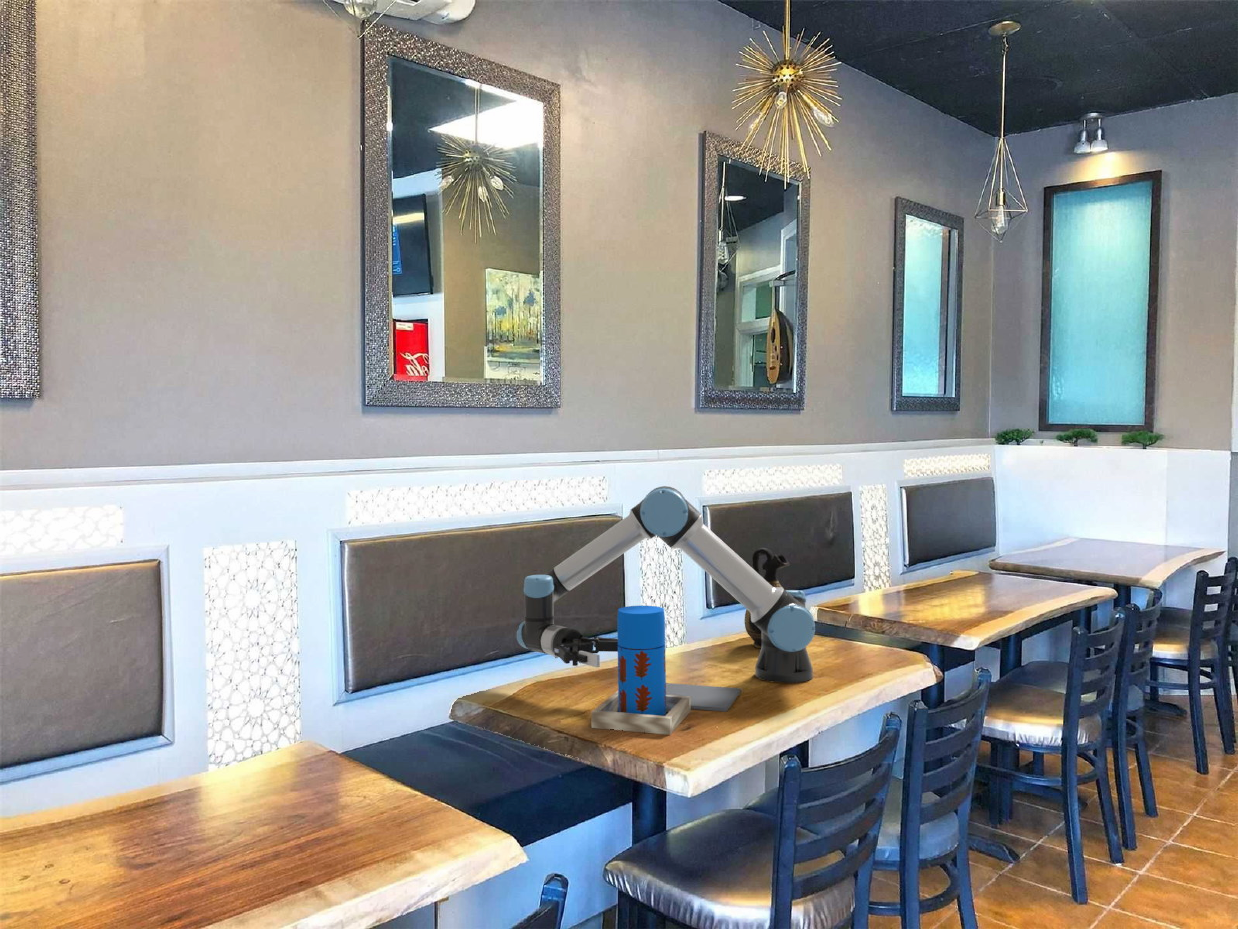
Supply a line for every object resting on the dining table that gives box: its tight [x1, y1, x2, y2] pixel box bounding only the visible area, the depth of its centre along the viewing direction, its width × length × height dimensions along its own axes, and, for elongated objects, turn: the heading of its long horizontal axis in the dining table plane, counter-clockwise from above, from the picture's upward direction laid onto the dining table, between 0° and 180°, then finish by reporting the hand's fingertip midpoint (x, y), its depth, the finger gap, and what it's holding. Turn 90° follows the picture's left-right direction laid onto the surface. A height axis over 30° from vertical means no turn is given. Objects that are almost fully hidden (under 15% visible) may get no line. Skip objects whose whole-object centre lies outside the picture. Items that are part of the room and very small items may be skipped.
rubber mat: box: [666, 682, 742, 712], centre depth 225 cm, size 20×18×1 cm
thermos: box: [616, 605, 667, 716], centre depth 208 cm, size 11×11×25 cm
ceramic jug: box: [744, 547, 790, 649], centre depth 281 cm, size 17×15×30 cm
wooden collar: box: [590, 690, 692, 736], centre depth 208 cm, size 18×18×4 cm
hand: (620, 656), depth 212 cm, fingers open, 13 cm apart
